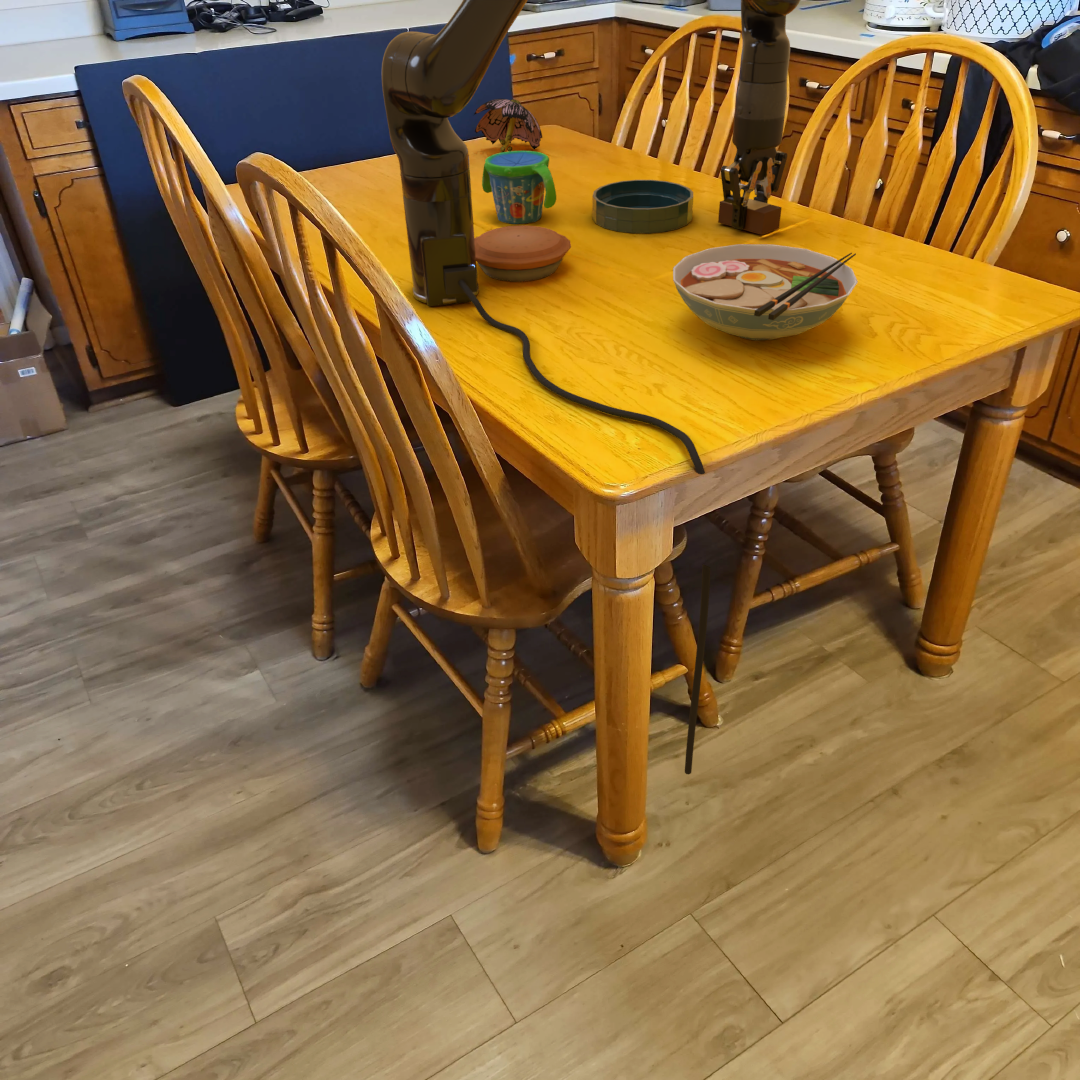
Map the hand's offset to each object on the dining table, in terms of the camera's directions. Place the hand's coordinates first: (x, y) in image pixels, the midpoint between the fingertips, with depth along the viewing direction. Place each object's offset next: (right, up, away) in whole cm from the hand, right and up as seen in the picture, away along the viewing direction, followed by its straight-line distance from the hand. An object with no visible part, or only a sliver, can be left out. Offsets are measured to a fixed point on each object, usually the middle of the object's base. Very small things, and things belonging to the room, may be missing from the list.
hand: (748, 224), depth 154 cm
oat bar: (0, 0, 0) cm, 0 cm away
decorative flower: (-40, +30, +45) cm, 68 cm away
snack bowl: (-17, +3, +7) cm, 18 cm away
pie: (-37, -10, -10) cm, 40 cm away
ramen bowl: (-6, -24, -31) cm, 39 cm away
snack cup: (-37, +3, +9) cm, 38 cm away
